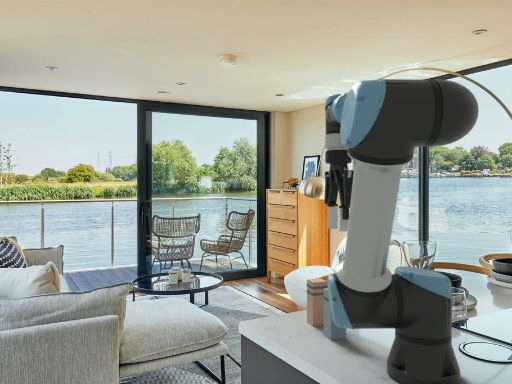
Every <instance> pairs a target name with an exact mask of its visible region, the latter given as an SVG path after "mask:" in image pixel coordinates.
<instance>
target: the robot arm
mask: <svg viewBox="0 0 512 384" xmlns="http://www.w3.org/2000/svg"><path fill="white" fill-rule="evenodd" d="M324 111H325V113H324V114H325V117H324V118H325V119H324V120H325V135H324V138H325V139H324V140H325V141H324V147H325V149H326V150H325V155H324V156H325V157H324V158H325V159H324V162H325V164H328V165H329V170H326V171H324V198H323V199H324V203H323V204H325V205H326V206H327V208H328V209H327V210H328V211H327V219H328V220H327V221H328V222H327V229H328V230H335V229H336V230H337V229H338V230H339V232H347V234H346V240H345V242H346V243H345V249H344V250H345V252H344V260H341V261H340V262H339V263H338V264H337V266H336V270H335V273H330V274H328V275H327V278H326V281H327V286H328V295H329V302H330V309H331V314H332V319H333V322H334V324H335V325H336V326H337V327H340V328H346V329H351V330H355V329H357V330H358V329H359V330H363V329H364V330H366V329H367V330H368V329H369V330H371V329H372V330H373V329H374V330H375V329H383V330H384V329H391V330H393V329H394V339H393V342H392V345H391V347H390V351H389V353H388V356H387V358H386V373H387V374H388V376H389V377H390V378H392V379H393V380H394V381H396V382H398V383H400V384H460V383H461V370H460V366H459V365H460V364H459V363H458V359H457V356H456V354H455V351H454V348H453V344H452V341H453V340H452V330H453V327H452V326H453V325H452V322H453V321H452V320H453V316H452V315H453V299H454V296H453V291H452V282H451V279H450V278H449V277H448V276H446V275H445V274H443V273H440V272H437V271H435V270H429V269H426V268H422V267H421V268H419V267H415V266H414V267H413V266H404V265H403V266H396V267H395V269H394V273H392V272H391V270H390V269H389V268H388V266H387V264H388V258H389V251H390V246H391V239H392V234H393V233H392V232H393V227H394V219H395V215H396V214H395V213H396V209H397V208H396V207H397V201H398V195H399V188H400V185H401V184H400V183H401V177H402V172H403V168H404V167H405V166H407V165H408V164H409V163H411V162H412V161H413V158H414V152H415V148H422V147H423V148H425V147H426V148H429V147H430V148H431V147H432V148H433V147H434V148H435V147H442V146H443V147H444V146H447V145H451V144H453V143H456V142H458V141H459V140H460V141H461V139H463V138H464V137H465V136H467V135H468V134H469V133H470V132H471V131H472V129H474V127H475V125H476V123H477V121H478V118H479V103H478V100H477V98H476V97H475V95H474V93H473V92H472V91H471V90H470V89H469V88H467V87H466V86H465V85H463V84H460V83H459V82H456V81H452V80H447V79H442V78H440V79H438V78H435V79H434V78H433V79H412V78H411V79H405V78H404V79H403V78H402V79H399V78H397V79H393V78H391V79H389V78H376V79H373V80H372V79H367V80H359V81H357V82H355V83H354V84H353V85H352V86H350V88H349V90H348V92H344V93H335V94H331V95H328V96H327V97H326V98H325V105H324ZM352 162H354V166H353V169H349V167H348V164H351V163H352ZM338 196H339V202H340V205H339V204H338V203H337V202H338ZM338 209H339V210H338ZM338 212H339V213H338ZM338 220H339V221H338ZM338 223H339V224H338Z"/></svg>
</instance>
